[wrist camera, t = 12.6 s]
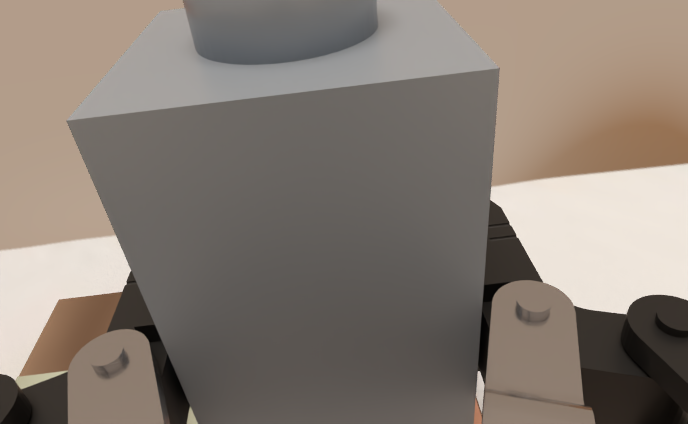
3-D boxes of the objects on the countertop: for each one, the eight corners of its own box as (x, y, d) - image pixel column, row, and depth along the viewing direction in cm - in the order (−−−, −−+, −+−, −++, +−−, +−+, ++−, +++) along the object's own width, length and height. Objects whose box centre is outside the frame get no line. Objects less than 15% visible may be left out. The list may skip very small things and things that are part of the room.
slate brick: (261, 570, 13) (10, -8, 5) (270, 396, 17) (136, -71, 9) (464, 544, 13) (509, -69, 5) (424, 376, 17) (416, -105, 9)
